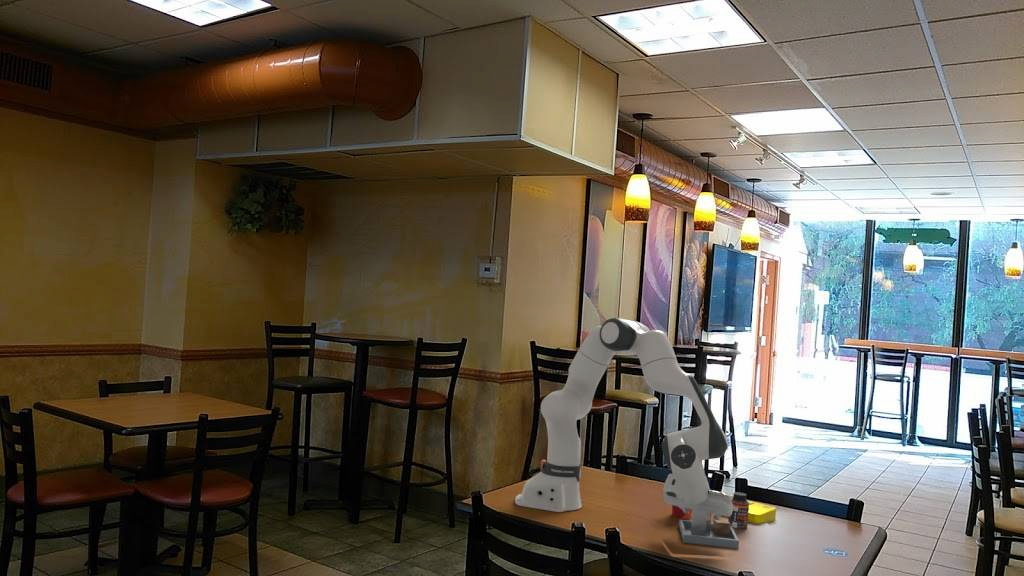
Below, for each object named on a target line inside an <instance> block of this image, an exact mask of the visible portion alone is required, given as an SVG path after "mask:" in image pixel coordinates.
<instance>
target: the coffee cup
mask: <svg viewBox="0 0 1024 576" xmlns="http://www.w3.org/2000/svg"><path fill="white" fill-rule="evenodd" d="M671 506H672V507H671V510H672V512H671V513H672V516H673V517H675V518H678V519H683V520H687V519H692V509H690V511H689V514H687V513H684V512H683V510H682V509H681V508H679V507H678V506H675V505H671Z"/></svg>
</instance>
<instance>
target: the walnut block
mask: <svg viewBox="0 0 1024 576" xmlns="http://www.w3.org/2000/svg"><path fill="white" fill-rule="evenodd" d="M712 520H713V521H712V523H713V533H714V534H715V535H716V536H726V537H730V524H731V523H729V522H728V519H726V518H725V519H723V518H720V520H715V519H714V518H713V519H712Z"/></svg>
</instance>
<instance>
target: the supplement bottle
mask: <svg viewBox="0 0 1024 576" xmlns="http://www.w3.org/2000/svg"><path fill="white" fill-rule="evenodd" d="M730 499H731V501H732V503H733V506H734V508H733V512H732V515H731V516H729V517H728V519H727V521H728V522H729V523H731V524H730V525H731V526H732V528H733V530H744V531H745V530H748V526H749V525H748V523H749V522H748V513H749V503H748V501H749V500H748V501H747V494H746V493H744V492H738V491H736V492H733V496H732V498H730Z"/></svg>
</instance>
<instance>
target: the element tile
mask: <svg viewBox="0 0 1024 576" xmlns="http://www.w3.org/2000/svg"><path fill="white" fill-rule="evenodd" d="M746 500H747V499H746ZM747 501H748V503H749V513H748V523H752V524H756V525H757V524H758V525H761V524H763V523H766V524H770V523H772V522H774V521H776V517H777V516H776V515H777V508H776V507H775V506H771V505H767V504H763V503H759V502H755V501H752V500H747ZM721 517H723V518H724V517H725V518H726V516H722V515H721Z"/></svg>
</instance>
